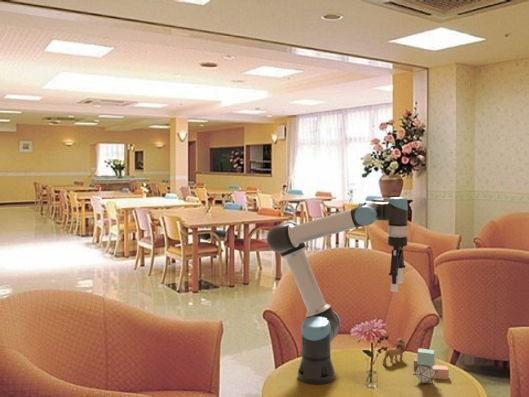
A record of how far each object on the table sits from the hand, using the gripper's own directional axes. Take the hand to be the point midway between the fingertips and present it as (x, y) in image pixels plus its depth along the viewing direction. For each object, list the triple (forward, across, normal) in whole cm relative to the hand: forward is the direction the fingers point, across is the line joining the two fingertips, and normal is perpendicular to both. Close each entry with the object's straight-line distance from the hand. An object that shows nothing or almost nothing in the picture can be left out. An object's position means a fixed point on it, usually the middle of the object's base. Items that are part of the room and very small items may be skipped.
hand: (397, 287), depth 214 cm
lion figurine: (+36, +13, +3) cm, 39 cm away
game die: (+36, -5, -12) cm, 39 cm away
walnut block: (+36, +9, -10) cm, 39 cm away
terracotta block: (+36, +3, -17) cm, 40 cm away
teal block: (+28, -5, -12) cm, 31 cm away
